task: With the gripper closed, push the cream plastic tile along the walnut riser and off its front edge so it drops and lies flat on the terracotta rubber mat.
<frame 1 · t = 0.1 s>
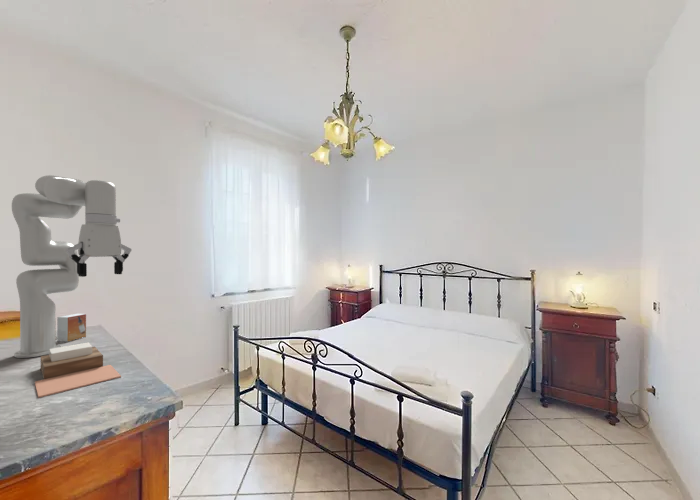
hand: (101, 275, 98), 31 cm above the dresser, tool pointing down, fingers open, 9 cm apart
tile: (71, 351, 104), point 5 cm above the dresser, touching riser
small box: (72, 339, 137), on the dresser
mat: (78, 379, 94), on the dresser
riser: (71, 367, 104), on the dresser
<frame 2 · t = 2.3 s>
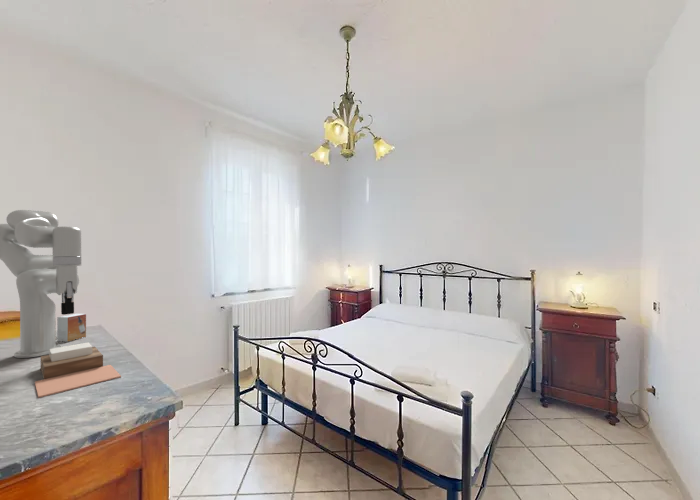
hand: (67, 313, 110), 17 cm above the dresser, tool pointing down, fingers closed
nothing on the dresser moved.
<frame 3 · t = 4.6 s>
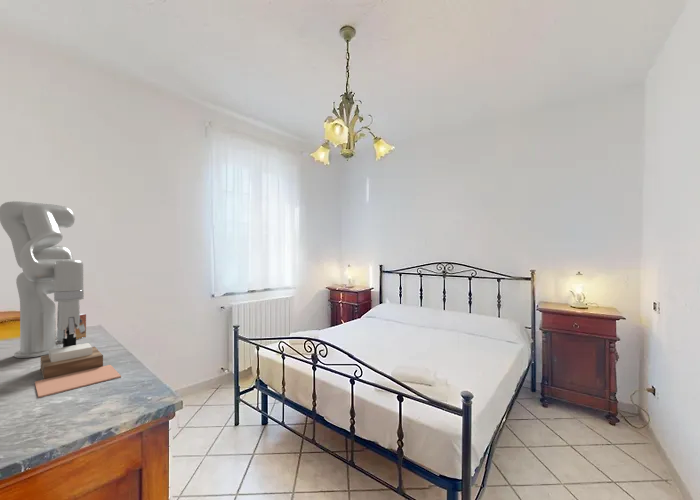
hand: (69, 349, 107), 5 cm above the dresser, tool pointing down, fingers closed
nothing on the dresser moved.
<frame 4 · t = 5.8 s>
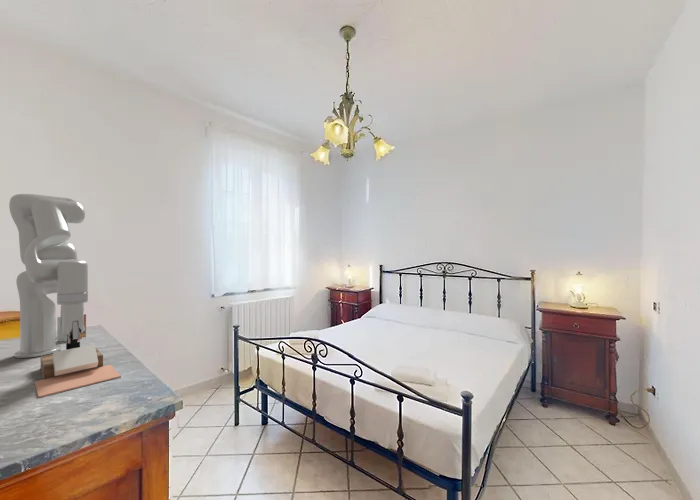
hand: (73, 354, 102), 5 cm above the dresser, tool pointing down, fingers closed
tile: (75, 359, 98), point 5 cm above the dresser, tilted 39°, touching riser
everything else where it was.
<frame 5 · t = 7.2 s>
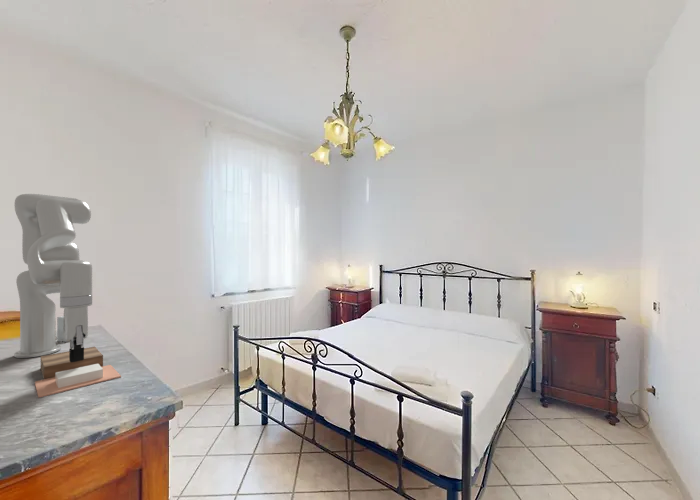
hand: (76, 360, 96), 5 cm above the dresser, tool pointing down, fingers closed
tile: (79, 375, 94), point 2 cm above the dresser, tilted 180°, touching mat
everything else where it was.
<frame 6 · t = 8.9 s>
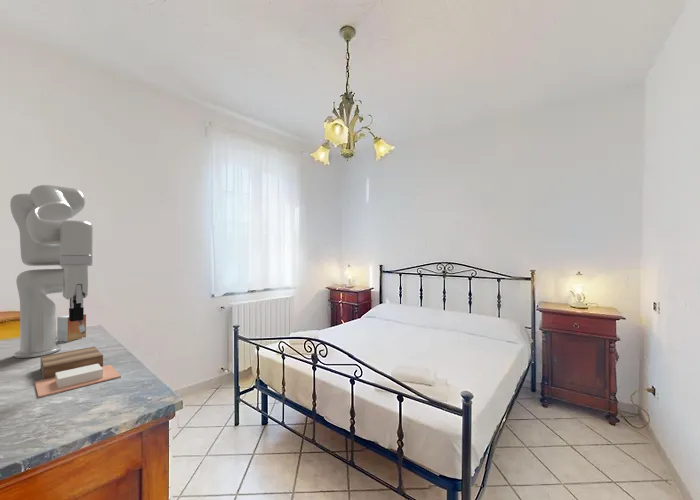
hand: (76, 320, 96), 17 cm above the dresser, tool pointing down, fingers closed
nothing on the dresser moved.
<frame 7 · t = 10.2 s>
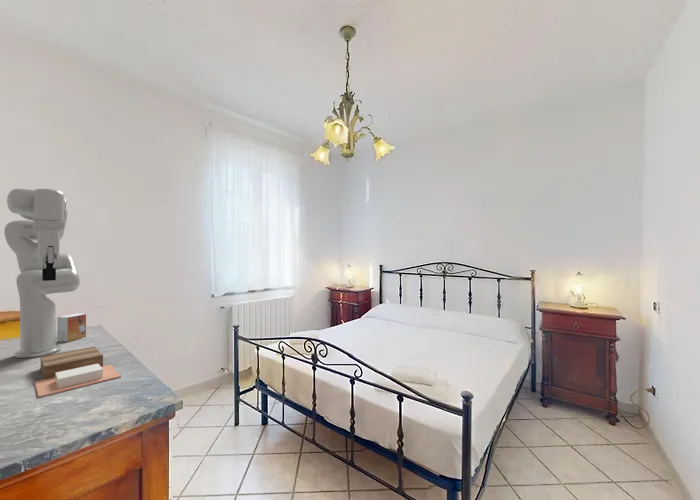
hand: (49, 280, 106), 29 cm above the dresser, tool pointing down, fingers closed
nothing on the dresser moved.
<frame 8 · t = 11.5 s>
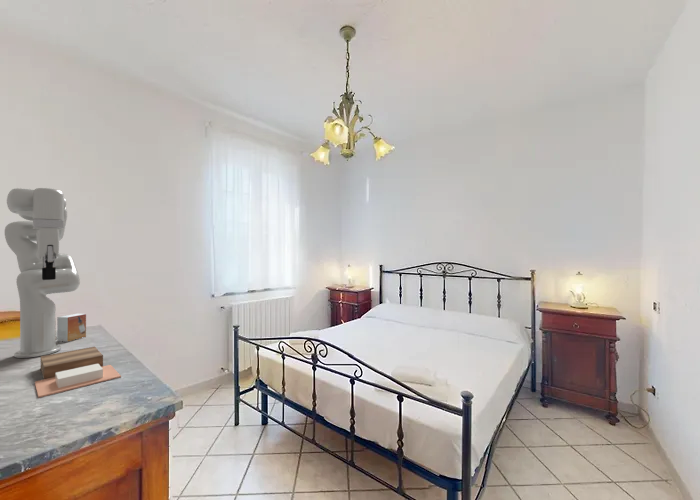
hand: (48, 279, 106), 29 cm above the dresser, tool pointing down, fingers closed
nothing on the dresser moved.
at the end: tile point 1.6 cm above the dresser; tile 0.7 cm from the mat (horizontally) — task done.
